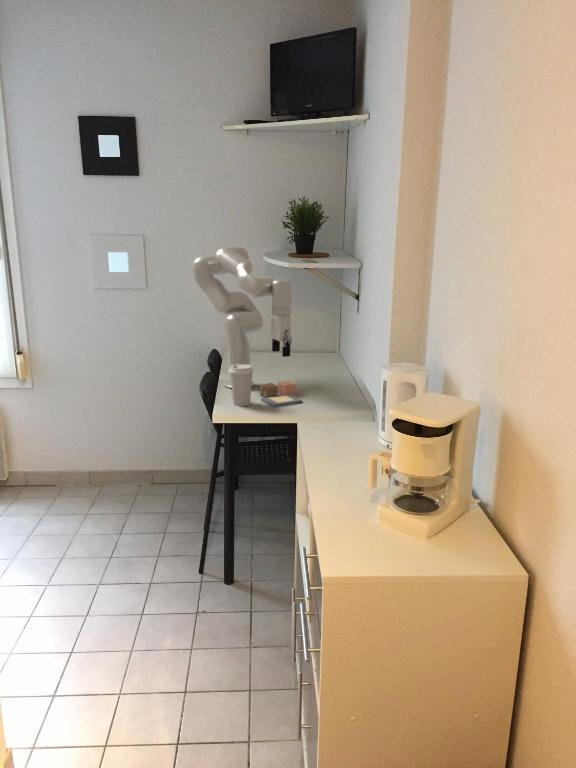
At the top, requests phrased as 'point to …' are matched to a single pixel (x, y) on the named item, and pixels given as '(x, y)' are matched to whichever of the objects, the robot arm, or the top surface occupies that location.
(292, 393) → the terracotta block
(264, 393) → the walnut block
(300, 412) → the top surface
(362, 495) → the top surface
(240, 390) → the coffee cup
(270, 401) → the board
